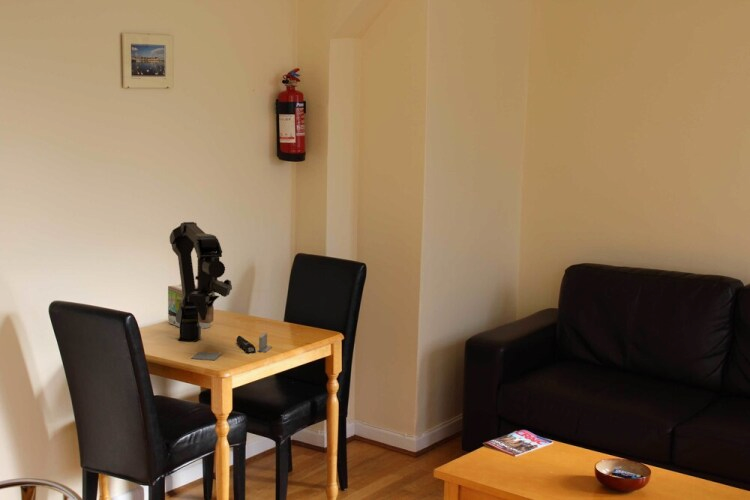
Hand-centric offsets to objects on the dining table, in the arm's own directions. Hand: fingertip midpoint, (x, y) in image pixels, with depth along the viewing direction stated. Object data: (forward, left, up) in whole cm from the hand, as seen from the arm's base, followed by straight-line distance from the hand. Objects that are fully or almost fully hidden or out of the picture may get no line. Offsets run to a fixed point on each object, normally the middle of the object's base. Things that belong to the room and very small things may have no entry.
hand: (205, 318), depth 314 cm
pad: (+3, -8, -11) cm, 14 cm away
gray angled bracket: (+18, +6, -11) cm, 22 cm away
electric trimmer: (+12, +6, -12) cm, 18 cm away
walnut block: (0, 0, -1) cm, 1 cm away
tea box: (-17, +33, -11) cm, 39 cm away
